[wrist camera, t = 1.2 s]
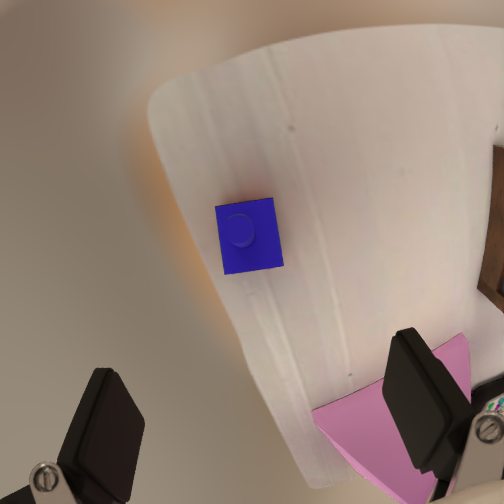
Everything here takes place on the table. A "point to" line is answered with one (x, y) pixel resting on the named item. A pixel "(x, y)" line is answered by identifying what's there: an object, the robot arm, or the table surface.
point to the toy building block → (249, 236)
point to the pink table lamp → (387, 431)
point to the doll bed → (495, 238)
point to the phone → (489, 397)
